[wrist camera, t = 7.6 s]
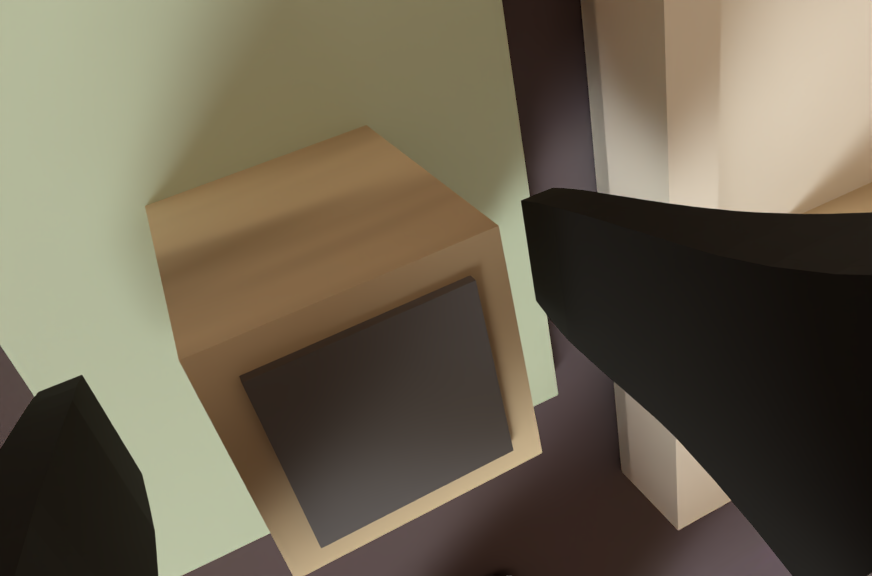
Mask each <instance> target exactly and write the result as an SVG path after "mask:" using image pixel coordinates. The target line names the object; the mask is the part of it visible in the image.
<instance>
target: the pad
mask: <svg viewBox="0 0 872 576" xmlns="http://www.w3.org/2000/svg"><path fill="white" fill-rule="evenodd" d="M365 125H367V126H368V127H370V128H371V129H372V130H374V131H375V132H376V133H378V134H379V135H380V136H381V137H383V138H384V139H385V140H387V141H388V142H389V143H391V144H392V145H393V146H395V147H396V148H397V149H399V150H400V151H401V152H402V153H404V154H405V155H406V156H408V157H409V158H410V159H412V160H413V161H414V162H416V163H417V164H418V165H420V166H421V167H422V168H424V169H425V170H426V171H427V172H429V173H430V174H431V175H433V176H434V177H435V178H437V179H438V180H439V181H441V182H442V183H443V184H445V185H446V186H447V187H449V188H450V189H451V190H452V191H454V192H455V193H456V194H458V195H459V196H460V197H462V198H463V199H464V200H466V201H467V202H468V203H470V204H471V205H472V206H474V207H475V208H476V209H477V210H479V211H480V212H481V213H483V214H484V215H485V216H487V217H488V218H489V219H491V220H492V221H493V222H495V223H496V224H497V225H499V230H500V235H501V240H502V245H503V251H504V256H505V261H506V266H507V271H508V277H509V282H510V287H511V292H512V297H513V303H514V308H515V313H516V318H517V323H518V329H519V334H520V339H521V344H522V350H523V355H524V360H525V365H526V370H527V376H528V381H529V386H530V391H531V396H532V402H533V407H534V406H536V405H538V404H540V403H542V402H544V401H546V400H548V399H550V398H552V397H554V396H556V395H558V390H557V383H556V376H555V369H554V362H553V355H552V348H551V341H550V334H549V327H548V320H547V314H546V313H545V312H544V310H543V309H542V308H541V307H540V305H539V304H538V303H537V302H536V298H535V292H534V285H533V279H532V272H531V265H530V259H529V252H528V245H527V239H526V232H525V226H524V219H523V212H522V206H521V200H523V199H526V198H528V197H530V194H529V187H528V180H527V173H526V166H525V159H524V152H523V145H522V138H521V131H520V124H519V117H518V110H517V103H516V96H515V89H514V82H513V75H512V68H511V61H510V54H509V47H508V40H507V33H506V26H505V19H504V12H503V5H502V0H0V345H1V347H2V348H3V350H4V351H5V353H6V354H7V356H8V357H9V359H10V360H11V362H12V363H13V365H14V366H15V368H16V369H17V371H18V372H19V374H20V375H21V377H22V378H23V380H24V381H25V383H26V384H27V386H28V387H29V389H30V390H31V392H32V393H33V395H34V396H36V394H37V393H38V392H39V391H42V390H44V389H47V388H49V387H52V386H54V385H57V384H60V383H62V382H65V381H67V380H70V379H72V378H75V377H77V376H80V375H83V377H84V378H85V380H86V382H87V383H88V385H89V387H90V388H91V390H92V392H93V393H94V395H95V397H96V398H97V400H98V402H99V403H100V405H101V407H102V408H103V410H104V411H105V413H106V415H107V416H108V418H109V420H110V421H111V423H112V425H113V426H114V428H115V430H116V431H117V433H118V435H119V436H120V438H121V440H122V441H123V443H124V444H125V446H126V448H127V449H128V451H129V453H130V454H131V456H132V458H133V459H134V461H135V463H136V464H137V466H138V468H139V469H140V471H141V473H142V475H143V479H144V484H145V488H146V492H147V496H148V501H149V505H150V510H151V515H152V519H153V524H154V529H155V538H156V550H157V564H158V576H182V575H184V574H186V573H188V572H190V571H192V570H194V569H196V568H199V567H201V566H203V565H205V564H207V563H209V562H211V561H213V560H215V559H217V558H219V557H221V556H224V555H226V554H228V553H230V552H232V551H234V550H236V549H238V548H240V547H242V546H244V545H246V544H248V543H251V542H253V541H255V540H257V539H259V538H261V537H263V536H265V535H267V534H269V533H270V531H269V529H268V528H267V526H266V524H265V522H264V520H263V518H262V516H261V514H260V513H259V511H258V509H257V507H256V505H255V503H254V501H253V499H252V497H251V496H250V494H249V492H248V490H247V488H246V486H245V484H244V482H243V481H242V479H241V477H240V475H239V473H238V471H237V469H236V467H235V465H234V464H233V462H232V460H231V458H230V456H229V454H228V452H227V450H226V449H225V447H224V445H223V443H222V441H221V439H220V437H219V435H218V433H217V432H216V430H215V428H214V426H213V424H212V422H211V420H210V418H209V417H208V415H207V413H206V411H205V409H204V407H203V405H202V403H201V401H200V400H199V398H198V396H197V394H196V392H195V390H194V388H193V386H192V385H191V383H190V381H189V379H188V377H187V375H186V373H185V371H184V369H183V368H182V366H181V364H180V362H179V359H178V355H177V350H176V346H175V341H174V336H173V332H172V327H171V323H170V318H169V314H168V309H167V304H166V300H165V295H164V291H163V286H162V282H161V277H160V272H159V268H158V263H157V259H156V254H155V250H154V245H153V240H152V236H151V231H150V227H149V222H148V218H147V213H146V208H145V206H146V205H149V204H152V203H155V202H157V201H160V200H163V199H165V198H168V197H171V196H174V195H176V194H179V193H182V192H185V191H187V190H190V189H193V188H196V187H198V186H201V185H204V184H206V183H209V182H212V181H215V180H217V179H220V178H223V177H226V176H228V175H231V174H234V173H237V172H239V171H242V170H245V169H248V168H250V167H253V166H256V165H258V164H261V163H264V162H267V161H269V160H272V159H275V158H278V157H280V156H283V155H286V154H289V153H291V152H294V151H297V150H299V149H302V148H305V147H308V146H310V145H313V144H316V143H319V142H321V141H324V140H327V139H330V138H332V137H335V136H338V135H341V134H343V133H346V132H349V131H351V130H354V129H357V128H360V127H362V126H365Z"/></svg>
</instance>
